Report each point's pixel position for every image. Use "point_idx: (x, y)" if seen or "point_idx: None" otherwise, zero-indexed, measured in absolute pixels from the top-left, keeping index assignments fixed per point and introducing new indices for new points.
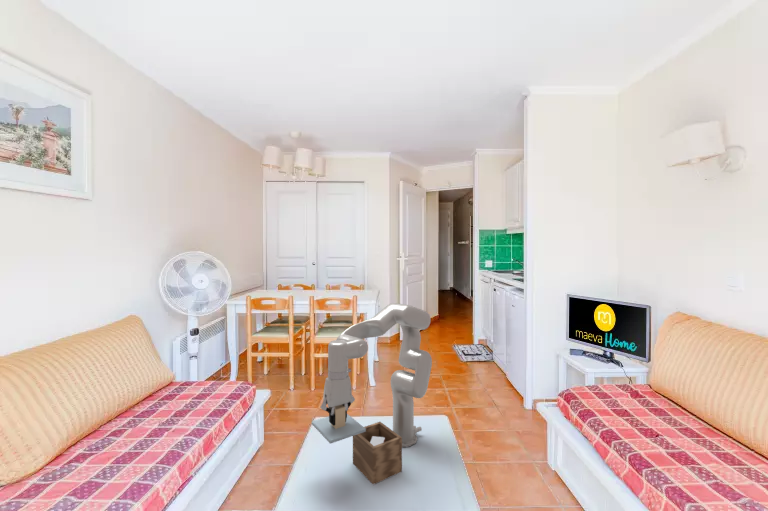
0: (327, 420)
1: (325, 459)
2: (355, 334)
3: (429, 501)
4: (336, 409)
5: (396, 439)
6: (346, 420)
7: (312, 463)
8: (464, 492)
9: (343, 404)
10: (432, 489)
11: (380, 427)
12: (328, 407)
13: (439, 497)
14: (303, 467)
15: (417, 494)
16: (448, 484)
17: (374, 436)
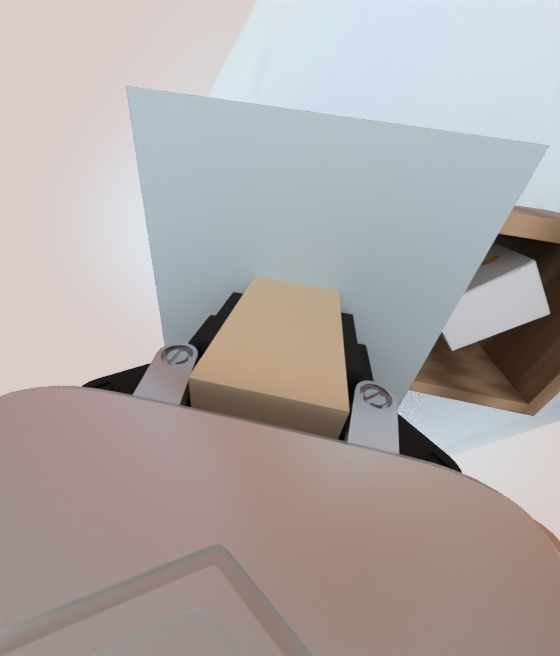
0: (266, 193)
1: (362, 60)
2: None
3: None
4: None
5: (504, 409)
6: (383, 312)
7: (302, 44)
8: (468, 446)
9: (365, 437)
10: (440, 408)
11: None
12: (139, 385)
13: (424, 424)
14: (257, 45)
15: (405, 395)
16: (477, 422)
17: (535, 271)
